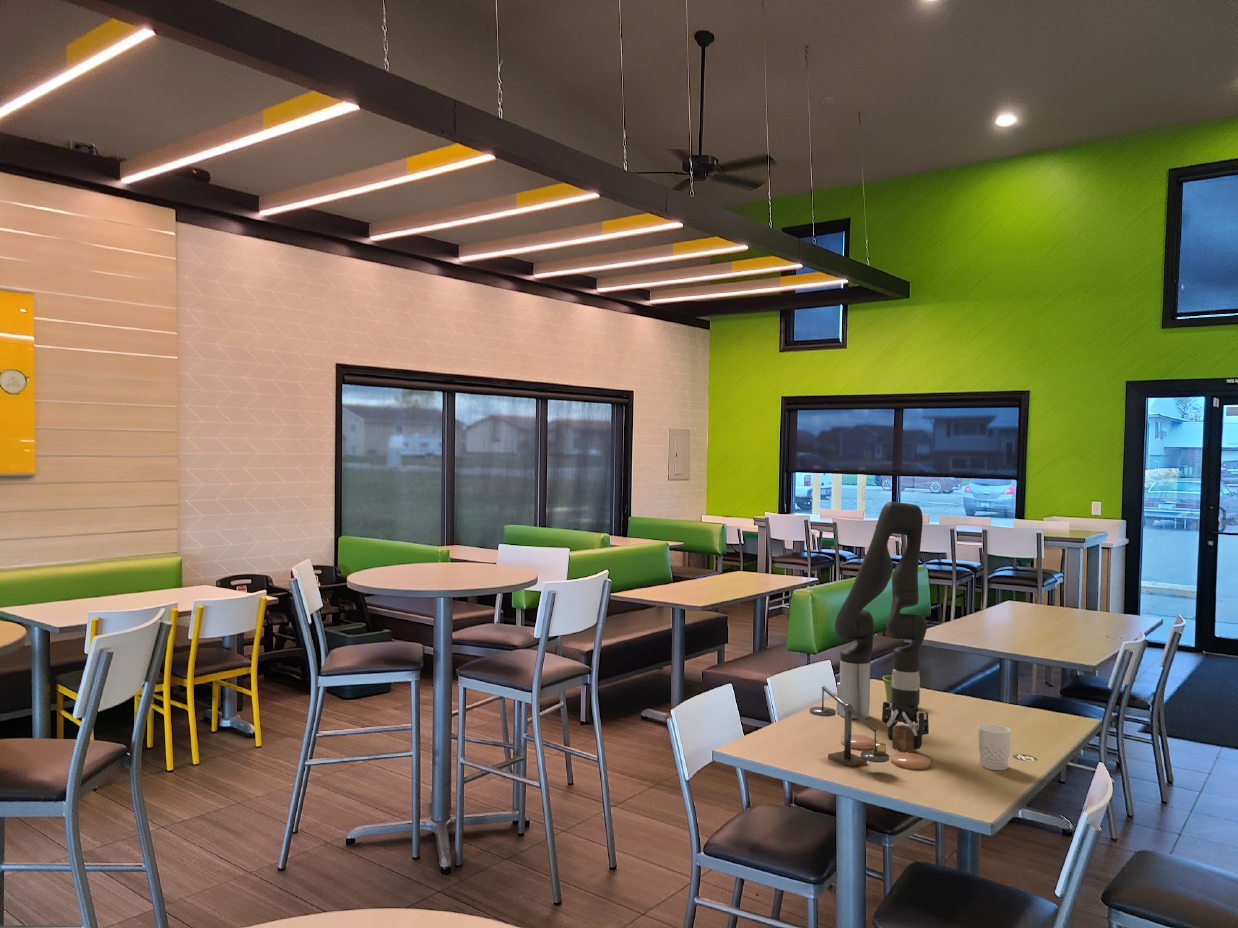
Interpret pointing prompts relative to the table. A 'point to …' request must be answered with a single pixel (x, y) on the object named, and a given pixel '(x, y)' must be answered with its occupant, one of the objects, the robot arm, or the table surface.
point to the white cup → (994, 746)
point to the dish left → (860, 742)
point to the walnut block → (902, 738)
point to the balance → (846, 756)
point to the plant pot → (888, 686)
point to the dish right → (910, 761)
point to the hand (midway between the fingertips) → (904, 744)
